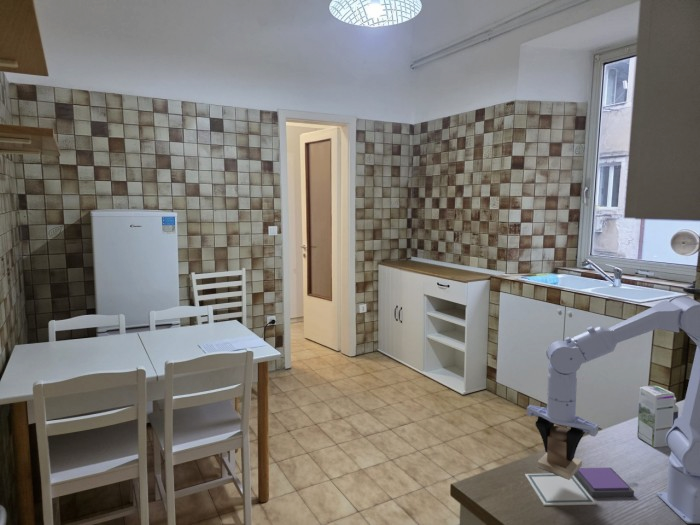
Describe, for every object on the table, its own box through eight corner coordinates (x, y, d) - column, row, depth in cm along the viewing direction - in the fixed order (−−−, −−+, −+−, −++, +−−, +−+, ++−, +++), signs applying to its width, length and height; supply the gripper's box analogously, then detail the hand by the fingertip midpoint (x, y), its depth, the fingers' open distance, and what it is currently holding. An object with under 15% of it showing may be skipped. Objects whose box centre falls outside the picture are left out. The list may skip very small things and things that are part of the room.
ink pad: (633, 496, 99) (634, 489, 99) (592, 497, 99) (592, 490, 99) (610, 472, 108) (610, 466, 108) (572, 473, 108) (572, 466, 108)
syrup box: (672, 445, 119) (676, 392, 117) (652, 448, 118) (656, 394, 116) (654, 435, 125) (658, 384, 123) (635, 437, 124) (638, 386, 122)
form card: (596, 504, 97) (596, 502, 97) (544, 505, 97) (544, 503, 97) (571, 474, 108) (571, 472, 108) (524, 475, 108) (524, 473, 108)
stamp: (581, 466, 102) (583, 430, 101) (569, 480, 97) (571, 443, 96) (550, 454, 107) (551, 419, 106) (537, 467, 102) (538, 431, 101)
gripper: (603, 400, 97) (601, 459, 99) (536, 382, 108) (535, 436, 109) (592, 411, 92) (589, 473, 94) (523, 391, 103) (521, 448, 104)
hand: (559, 454), depth 101 cm, fingers closed on stamp, 4 cm apart
